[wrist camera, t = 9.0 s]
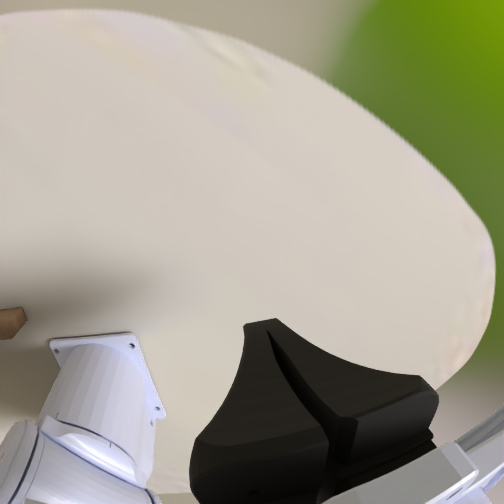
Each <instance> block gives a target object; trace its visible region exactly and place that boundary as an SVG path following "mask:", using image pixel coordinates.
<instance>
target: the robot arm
mask: <svg viewBox="0 0 504 504" xmlns="http://www.w3.org/2000/svg"><path fill="white" fill-rule="evenodd" d="M243 329H244V336H245V337H244V346H243V352H242V357H241V361H240V364H239V368H238V371H237V374H236V377H235V379H234V382H233V384H232V386H231V388H230V390H229V393H228V395H227V397H226V398H225V400H224V402H223V404H222V405H221V407H220V408H219V410H218V411H217V413H216V414H215V416H214V417H213V419H212V420H211V421H210V423H209V424H208V425H207V426H206V427H205V428H204V430H203V431H202V432H201V433H200V434H199V435H198V436H197V438H196V439H195V442H194V446H193V450H192V454H191V459H190V468H189V478H190V488H191V491H192V493H193V495H194V496H195V498H196V499H197V500H198V502H199V503H200V504H492V503H491V502H490V500H489V499H488V497H487V496H486V495H485V493H486V492H487V491H489V490H490V489H491V488H492V487H493V486H494V485H495V484H497V482H499V481H500V480H501V479H502V478H503V477H504V404H503V405H502V406H501V407H500V408H499V409H497V410H496V411H495V412H494V413H492V414H491V415H490V416H489V417H487V418H486V419H485V420H484V421H482V422H481V423H480V424H478V425H477V426H476V427H474V428H473V429H471V430H470V431H469V432H467V433H466V434H464V435H463V436H461V437H460V438H458V439H457V440H455V441H454V442H451V443H446V444H444V445H442V446H440V447H438V448H437V447H436V445H435V444H434V443H433V442H432V440H431V439H433V433H432V432H431V431H430V430H429V426H430V424H431V421H432V419H433V417H434V415H435V413H436V410H437V407H438V404H439V396H438V394H437V393H436V391H435V390H434V389H433V388H432V387H431V386H430V385H429V384H428V383H427V382H426V381H425V380H424V379H423V378H422V377H421V376H419V375H408V374H397V373H390V372H385V371H380V370H375V369H371V368H367V367H364V366H361V365H357V364H354V363H351V362H349V361H346V360H343V359H341V358H339V357H336V356H334V355H332V354H330V353H328V352H326V351H324V350H322V349H320V348H318V347H317V346H315V345H313V344H312V343H310V342H308V341H307V340H305V339H304V338H302V337H301V336H299V335H298V334H297V333H295V332H294V331H293V330H291V329H290V328H289V327H287V326H286V325H285V324H283V323H282V322H281V321H280V320H278V319H277V318H274V319H269V320H263V321H258V322H253V323H247V324H245V325H244V326H243ZM130 343H133V344H134V345H135V346H131V345H130ZM49 345H50V348H51V350H52V352H53V354H54V357H55V359H56V361H57V363H58V365H59V367H60V369H61V370H60V372H59V374H58V376H57V378H56V380H55V382H54V384H53V386H52V388H51V390H50V392H49V394H48V396H47V398H46V401H45V403H44V405H43V407H42V409H41V412H40V414H39V416H38V418H37V421H36V423H35V424H34V423H33V422H32V421H31V420H29V419H27V420H25V421H17V422H15V423H14V425H13V426H12V427H11V428H10V430H9V431H8V433H7V434H6V436H5V438H4V440H3V441H2V443H1V445H0V504H162V502H161V500H160V498H159V497H158V495H157V494H155V493H154V492H153V491H152V490H150V489H147V488H146V480H147V479H148V478H149V476H150V474H151V473H152V470H153V461H154V441H155V426H156V419H164V418H166V412H165V409H164V407H163V405H162V403H161V400H160V398H159V395H158V393H157V391H156V388H155V386H154V383H153V381H152V378H151V376H150V373H149V370H148V368H147V365H146V362H145V360H144V357H143V354H142V351H141V349H140V346H139V343H138V340H137V337H136V335H134V334H133V333H120V334H111V335H101V336H90V337H78V338H65V339H53V340H51V341H50V343H49ZM56 349H57V350H58V351H59V352H58V351H57V350H56ZM157 407H159V408H157Z"/></svg>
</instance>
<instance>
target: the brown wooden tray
mask: <svg viewBox="0 0 504 504" xmlns="http://www.w3.org/2000/svg"><path fill="white" fill-rule="evenodd" d="M26 321H27V319H26V316H25V314H24V311H23V308H22V307H21V308H12V309H3V310H0V340H3V339H12V338H13V337H14V336H15V334H16V333H17V332H18V331H19V330H20V328H21V327H22V326H23V325H24V324H25V322H26Z"/></svg>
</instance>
